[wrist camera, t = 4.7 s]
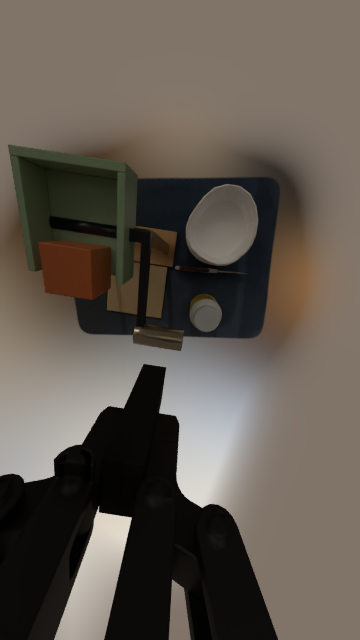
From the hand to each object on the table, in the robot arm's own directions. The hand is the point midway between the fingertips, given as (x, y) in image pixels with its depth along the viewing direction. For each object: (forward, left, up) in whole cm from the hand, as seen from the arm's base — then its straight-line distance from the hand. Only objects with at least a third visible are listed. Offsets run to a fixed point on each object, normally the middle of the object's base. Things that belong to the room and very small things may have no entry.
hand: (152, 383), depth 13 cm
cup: (-13, +5, -27) cm, 31 cm away
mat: (-2, -8, -27) cm, 28 cm away
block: (-8, -8, -6) cm, 13 cm away
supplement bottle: (0, +5, -27) cm, 28 cm away
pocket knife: (-7, +6, -27) cm, 29 cm away
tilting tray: (-7, -6, -11) cm, 14 cm away
